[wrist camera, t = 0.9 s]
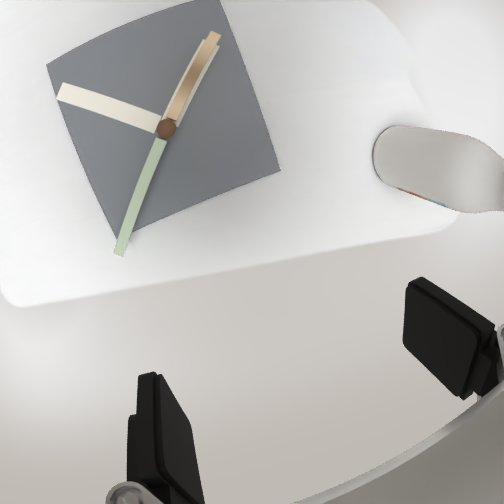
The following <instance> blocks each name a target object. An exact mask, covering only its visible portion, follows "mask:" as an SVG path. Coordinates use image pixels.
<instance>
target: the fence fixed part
mask: <svg viewBox="0 0 504 504" xmlns="http://www.w3.org/2000/svg"><path fill="white" fill-rule="evenodd" d="M220 37H221V35H220V34H218V33H215V32H213V31H211V32H210V33H209V35H208V37H207V38H206V40H205V42H204V44H203V45H202V47H201V49H200V51H199V52H198V54H197V56H196V58H195V60H194V61H193V63H192V65H191V67H190V69H189V71H188V73H187V74H186V76H185V78H184V80H183V82H182V84H181V86H180V88H179V90H178V92H177V94H176V96H175V98H174V100H173V102H172V104H171V106H170V108H169V110H168V113H167V115H166V118H168V119H163V120H161V121H160V122H159V123H158V125H157V133H158V134H159V136H161V137H163V138H169V137H171V136H173V135H174V133H175V131H176V124H175V123H174V121H175V122H176V121H177V119H178V117H179V115H180V113H181V111H182V109H183V107H184V104H185V102H186V100H187V98H188V96H189V94H190V92H191V90H192V88H193V87H194V85H195V83H196V81H197V79H198V77H199V75H200V73H201V71H202V69H203V68H204V66H205V64H206V62H207V60H208V58H209V57H210V55H211V53H212V51H213V49H214V48H215V46H216V44H217V42H218V41H219V39H220ZM172 120H173V121H172Z"/></svg>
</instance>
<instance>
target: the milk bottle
mask: <svg viewBox="0 0 504 504" xmlns="http://www.w3.org/2000/svg"><path fill="white" fill-rule="evenodd" d="M373 159H374V166H375V169H376V171H377V174H378V175H379V177H380V178H381V180H382V181H383V182H384V183H386V184H387V185H389V186H391V187H394V188H396V189H399V190H402V191H405V192H407V193H410V194H413V195H415V196H418V197H420V198H423V199H426V200H428V201H431V202H434V203H436V204H439V205H441V206H444V207H447V208H450V209H452V210H455V211H459V212H464V213H481V212H487V211H504V159H503V158H502V157H501V156H500V155H498V154H497V153H496V152H495V151H494V150H493V149H492V148H490V147H489V146H488V145H487V144H485V143H484V142H482V141H480V140H478V139H476V138H473V137H470V136H467V135H462V134H458V133H452V132H447V131H441V130H434V129H426V128H418V127H408V126H393V127H390V128H388V129H387V130H385V131H384V132H383V133H382V134H381V135H380V136H379V138H378V139H377V142H376V144H375V148H374V154H373Z"/></svg>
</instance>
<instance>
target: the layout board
mask: <svg viewBox="0 0 504 504" xmlns="http://www.w3.org/2000/svg"><path fill="white" fill-rule="evenodd" d="M211 31H213V32H215V33H218V34H220V35H221V37H220V39H219V41H218V42H217V44H216V46H215V48H214V49H213V51H212V53H211V55H210V57H209V58H208V60H207V62H206V64H205V66H204V68H203V69H202V71H201V73H200V75H199V77H198V79H197V81H196V83H195V85H194V87H193V88H192V90H191V92H190V94H189V96H188V98H187V100H186V102H185V104H184V107H183V109H182V111H181V113H180V115H179V117H178V119H177V121H176V122H175V121H174V123H175V124H176V131H175V133H174V135H173V136H171V137H169V138H163V137H161V136H159V134H158V133H157V125H158V123H159V122H160V121H161V120H163V119H168V118H166V115H167V113H168V110H169V108H170V106H171V104H172V102H173V100H174V98H175V96H176V94H177V92H178V90H179V88H180V86H181V84H182V82H183V80H184V78H185V76H186V74H187V73H188V71H189V69H190V67H191V65H192V63H193V61H194V60H195V58H196V56H197V54H198V52H199V51H200V49H201V47H202V45H203V44H204V42H205V40H206V38H207V37H208V35H209V33H210V32H211ZM46 66H47V69H48V73H49V76H50V79H51V82H52V85H53V88H54V91H55V94H56V100H58V103H59V106H60V109H61V112H62V115H63V117H64V120H65V123H66V125H67V128H68V131H69V133H70V136H71V139H72V141H73V144H74V146H75V149H76V151H77V154H78V156H79V158H80V161H81V163H82V166H83V168H84V170H85V173H86V175H87V177H88V179H89V182H90V184H91V186H92V188H93V191H94V193H95V195H96V197H97V199H98V201H99V204H100V206H101V208H102V210H103V212H104V214H105V216H106V218H107V220H108V222H109V224H110V226H111V228H112V230H113V232H114V234H115V236H116V238H117V239H118V236H119V233H120V230H121V227H122V224H123V221H124V218H125V216H126V213H127V210H128V207H129V204H130V201H131V199H132V196H133V193H134V191H135V188H136V185H137V183H138V180H139V178H140V175H141V172H142V170H143V167H144V165H145V163H146V160H147V158H148V155H149V153H150V151H151V148H152V146H153V143H154V141H155V139H156V137H161V138H163V139H166V140H168V141H167V143H166V145H165V148H164V150H163V152H162V155H161V157H160V159H159V162H158V164H157V166H156V169H155V171H154V174H153V176H152V179H151V181H150V184H149V186H148V189H147V191H146V194H145V197H144V199H143V202H142V204H141V207H140V210H139V213H138V215H137V218H136V221H135V224H134V227H133V229H132V232H134V231H136V230H138V229H140V228H143V227H145V226H147V225H149V224H151V223H154V222H156V221H158V220H160V219H163V218H165V217H167V216H169V215H172V214H174V213H176V212H179V211H181V210H183V209H186V208H188V207H190V206H193V205H195V204H197V203H200V202H202V201H205V200H207V199H209V198H212V197H214V196H217V195H219V194H222V193H224V192H227V191H229V190H232V189H234V188H237V187H239V186H242V185H244V184H247V183H249V182H252V181H255V180H257V179H260V178H262V177H265V176H268V175H270V174H273V173H276V172H278V171H281V170H280V167H279V164H278V161H277V158H276V155H275V152H274V149H273V145H272V142H271V139H270V136H269V133H268V130H267V127H266V124H265V122H264V119H263V116H262V113H261V110H260V107H259V104H258V101H257V98H256V96H255V93H254V90H253V87H252V84H251V81H250V79H249V76H248V73H247V70H246V68H245V65H244V62H243V60H242V57H241V54H240V52H239V49H238V46H237V44H236V41H235V38H234V36H233V33H232V31H231V28H230V26H229V23H228V20H227V18H226V15H225V13H224V10H223V8H222V6H221V3H220V1H219V0H194V1H191V2H187V3H184V4H180V5H177V6H174V7H171V8H168V9H165V10H162V11H159V12H156V13H153V14H150V15H148V16H145V17H142V18H140V19H137V20H135V21H132V22H130V23H127V24H125V25H123V26H120V27H118V28H116V29H113V30H111V31H109V32H107V33H105V34H102V35H100V36H98V37H96V38H94V39H92V40H90V41H88V42H86V43H84V44H82V45H80V46H78V47H76V48H75V49H73V50H71V51H69V52H67V53H65V54H64V55H62V56H60V57H58V58H57V59H55V60H53V61H52V62H50V63H48V64H47V65H46ZM172 121H173V120H172ZM132 232H131V233H132Z"/></svg>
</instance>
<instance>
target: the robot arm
mask: <svg viewBox="0 0 504 504" xmlns="http://www.w3.org/2000/svg"><path fill="white" fill-rule="evenodd" d="M494 328H495V324H493V323H492V322H490V321H489V320H487V319H486V318H485V317H483V316H482V315H480V314H479V313H477V312H476V311H474V310H473V309H471V308H470V307H469V306H467V305H466V304H464V303H462V302H461V301H460V300H458V299H457V298H455V297H453V296H452V295H450V294H449V293H447V292H446V291H444V290H443V289H441V288H440V287H438V286H437V285H435V284H433V283H432V282H430V281H428V280H427V279H425V278H423V277H419V278H417V279H415V280H413V281H411V282H409V283H408V287H407V288H406V293H405V313H404V328H403V344H404V346H405V348H407V350H408V351H409V352H411V353H412V354H413V355H414V356H415V357H416V358H417V359H418V360H419V361H420V362H421V363H422V364H423V365H424V366H425V367H426V368H427V369H428V370H429V371H430V372H431V373H432V374H433V375H434V376H436V378H437V379H438V380H439V381H440V382H441V383H442V384H443V385H445V386H446V388H447V389H448V390H449V391H450V392H451V393H452V394H453V395H455V396H459V397H460V398H461V399H462V400H465V399H466V398H468V397H469V396H470V395H472V394H473V391H474V392H475V393H476V394H477V402H476V403H475V404H474V405H473V406H471V407H470V408H469V409H467V410H466V411H465V412H463V413H462V414H461V415H459V416H458V417H457V418H455V419H454V420H452V421H451V422H450V423H448V424H447V425H445V426H444V427H443V428H441V429H440V430H438V431H437V432H435V433H434V434H432V435H431V436H429V437H428V438H426V439H425V440H423V441H421V442H420V443H418V444H416V445H415V446H413V447H412V448H410V449H408V450H407V451H405V452H403V453H401V454H400V455H398V456H396V457H394V458H393V459H391V460H389V461H387V462H386V463H383V464H382V465H380V466H378V467H376V468H374V469H372V470H370V471H368V472H366V473H364V474H362V475H360V476H358V477H356V478H354V479H351V480H349V481H347V482H345V483H343V484H340V485H338V486H336V487H334V488H331V489H329V490H326V491H324V492H321V493H319V494H316V495H314V496H311V497H308V498H306V499H303V500H300V501H298V502H294V503H292V504H504V324H503V325H501V326H500V327H499V328H498V330H497V332H496V331H495V330H494ZM127 438H128V439H127V482H122V483H119V484H117V485H116V486H114V487H113V488H112V489H111V490H110V491H109V492H108V495H107V497H106V504H205V501H204V496H203V491H202V487H201V481H200V476H199V470H198V464H197V459H196V453H195V447H194V440H193V434H192V428H191V424H190V422H189V420H188V418H187V417H186V415H185V413H184V412H183V410H182V408H181V407H180V405H179V403H178V402H177V400H176V398H175V396H174V395H173V393H172V391H171V390H170V388H169V386H168V384H167V382H166V380H165V379H164V377H163V376H162V374H159V375H157V374H156V372H150V373H146V374H142V375H139V376H138V390H137V411H136V414H135V415H130V417H129V420H128V437H127Z"/></svg>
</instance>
